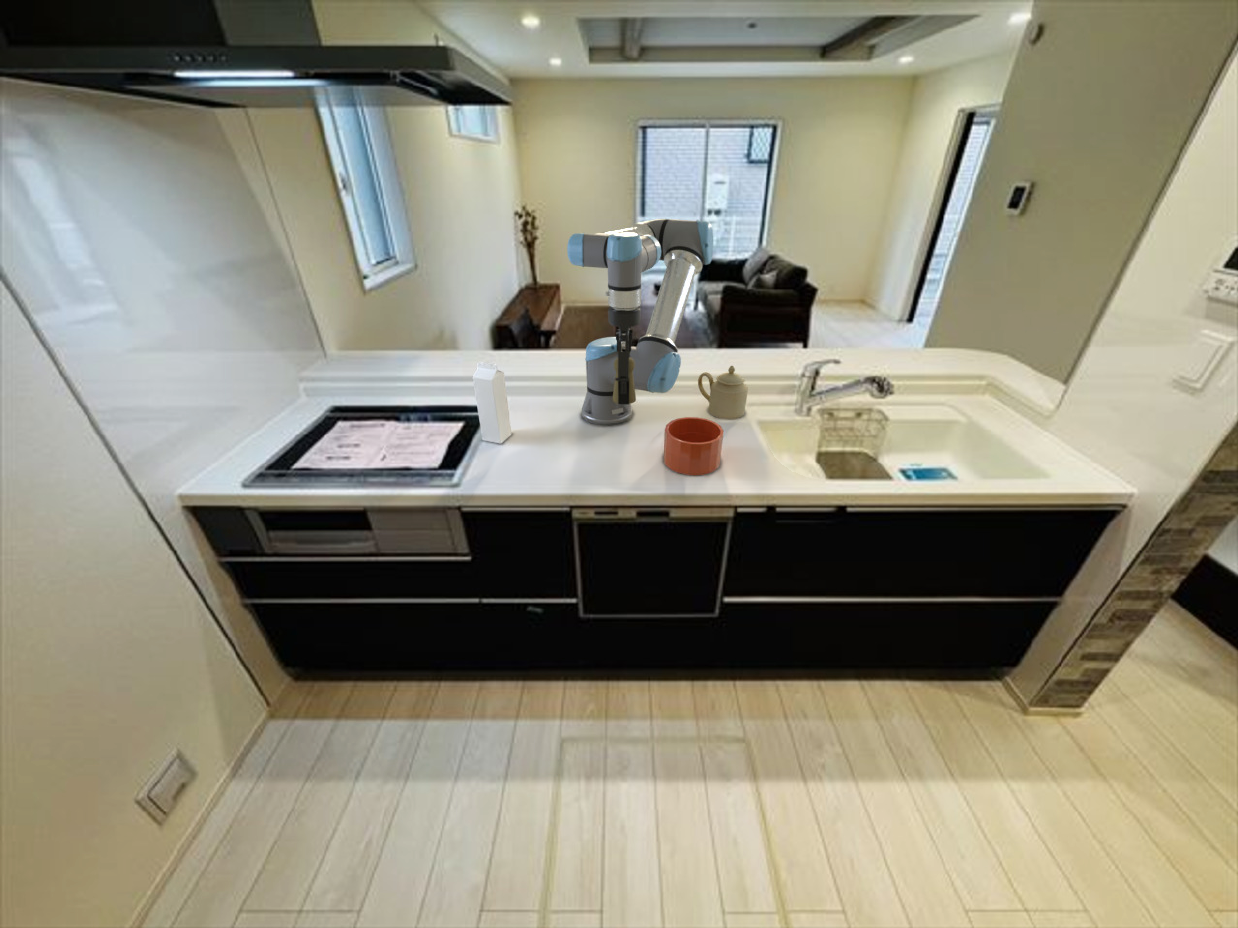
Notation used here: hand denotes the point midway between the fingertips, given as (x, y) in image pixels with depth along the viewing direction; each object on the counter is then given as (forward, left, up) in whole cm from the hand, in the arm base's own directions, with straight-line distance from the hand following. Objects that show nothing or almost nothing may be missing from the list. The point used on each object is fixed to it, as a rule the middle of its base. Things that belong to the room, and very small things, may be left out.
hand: (624, 397), depth 132 cm
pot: (+4, +18, -15) cm, 24 cm away
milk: (-6, -36, -16) cm, 40 cm away
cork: (0, 0, -1) cm, 1 cm away
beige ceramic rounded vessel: (-26, +29, -16) cm, 42 cm away
